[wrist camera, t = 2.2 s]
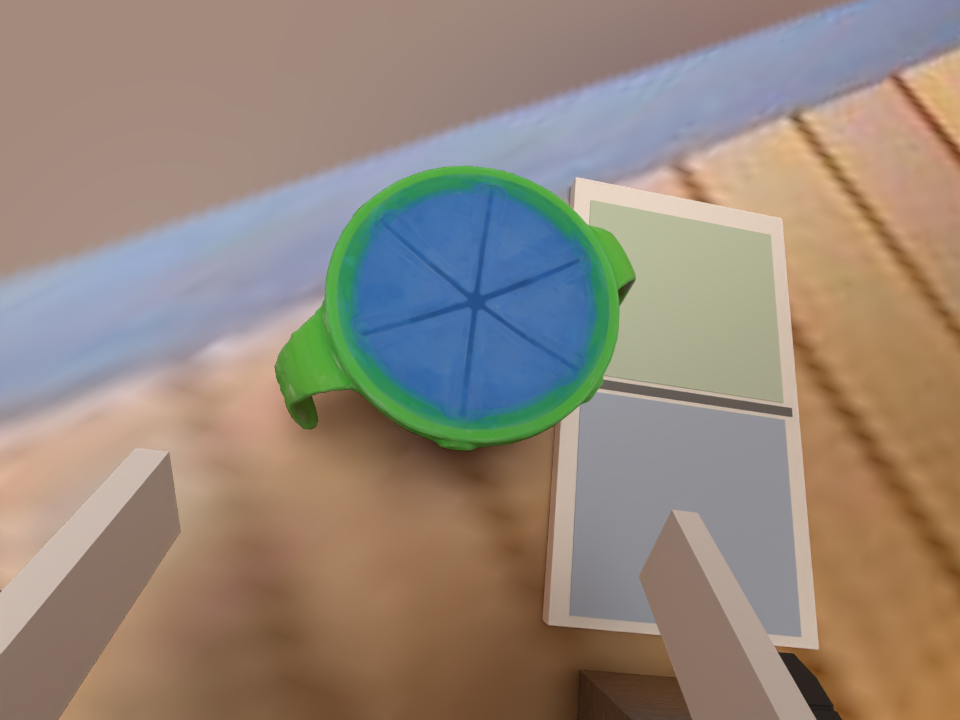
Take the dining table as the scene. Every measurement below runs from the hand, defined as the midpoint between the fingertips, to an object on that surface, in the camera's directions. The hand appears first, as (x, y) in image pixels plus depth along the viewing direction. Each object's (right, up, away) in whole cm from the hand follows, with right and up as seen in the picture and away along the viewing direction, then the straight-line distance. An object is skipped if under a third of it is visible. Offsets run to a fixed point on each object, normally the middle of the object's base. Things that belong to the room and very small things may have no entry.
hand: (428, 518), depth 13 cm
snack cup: (0, +4, +14) cm, 14 cm away
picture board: (+13, +2, +15) cm, 20 cm away
